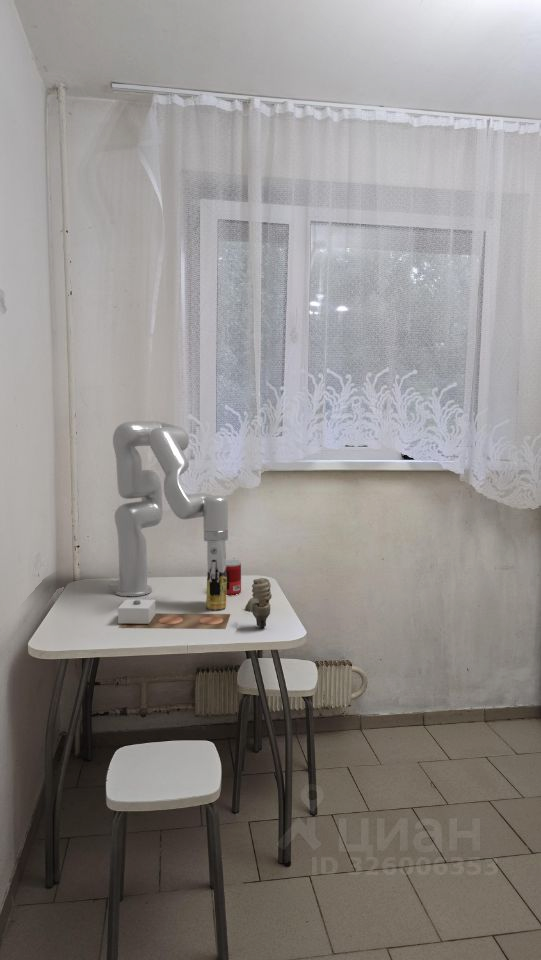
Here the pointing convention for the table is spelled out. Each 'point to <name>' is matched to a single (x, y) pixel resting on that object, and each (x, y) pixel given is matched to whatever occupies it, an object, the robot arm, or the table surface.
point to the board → (183, 621)
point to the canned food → (233, 577)
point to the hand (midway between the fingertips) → (216, 590)
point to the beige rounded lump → (255, 600)
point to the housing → (136, 611)
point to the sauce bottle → (217, 600)
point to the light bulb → (261, 601)
